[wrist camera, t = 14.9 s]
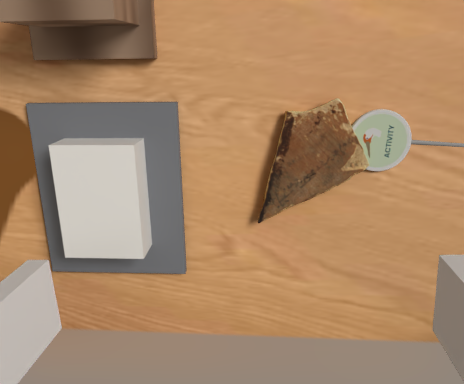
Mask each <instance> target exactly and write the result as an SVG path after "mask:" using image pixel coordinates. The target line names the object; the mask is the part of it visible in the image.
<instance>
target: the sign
mask: <svg viewBox="0 0 464 384" xmlns="http://www.w3.org/2000/svg"><path fill="white" fill-rule="evenodd" d="M352 128H353V130H354V132H355V134H356V135H357V137H358V139H359V141H360V144H361V145H362V147H363V149H364V153H365V155H366V158H367V159H368V162H369V164H370V165H369V166H368V167H367V168H366V169H367V170H370V171H383V170H387V169H390V168H392V167H394V166H396V165H397V164H398V163H400V162H401V161H402V160H403V159H404V157H405V156H406V154H407V153H408V151H409V148H410V145H411V144H418V145H436V146H454V147H464V144H461V143H448V142H434V141H420V140H411V130H410V127H409V125H408V123H407V122H406V120H405V119H404V118H403V117H402V116H401V115H399V114H398V113H396V112H393V111H390V110H386V109H377V110H372V111H369V112H367V113H365V114H363V115H362V116H360V117H359V118H358V119H357V120H356V121H355V122H354V123H353V125H352Z"/></svg>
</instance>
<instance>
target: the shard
mask: <svg viewBox="0 0 464 384" xmlns="http://www.w3.org/2000/svg"><path fill="white" fill-rule="evenodd" d="M369 165H370V164H369V162H368V159H367V158H366V155H365V153H364V149H363V147H362V145H361V144H360V141H359V139H358V137H357V135H356V134H355V132H354V130H353V128H352V126H351V124H350V122H349V120H348V117H347V114H346V111H345V108H344V105H343V103H342V102H341V101H340V100H339V99H335V100H332V101H330V102H328V103H327V104H325V105H322V106H320V107H317V108H315V109H312V110H310V111H304V112H295V111H286V112H285V119H284V123H283V128H282V131H281V134H280V138H279V142H278V145H277V151H276V154H275V157H274V161H273V165H272V167H271V172H270V175H269V178H268V182H267V187H266V190H265V195H264V203H263V207H262V209H261V211H260V214H259V218H258V223H260V222H262V221H264V220H266V219H268V218H270V217H272V216H274V215H277V214H278V213H280V212H281V211H283V210H284V209H287V208H289V207H291V206H293V205H296V204H298V203H300V202H304V201H307V200H309V199H311V198H313V197H314V196H316V195H318V194H321V193H324V192H326V191H328V190H330V189H331V188H332V187H335V186H338V185H340V184H341V183H343V182H345V181H347V180H349V179H350V178H351V177H352V176H353V175H355V174H357V173H359V172H362V171H364V170H365V169H366V168H367V167H368V166H369Z"/></svg>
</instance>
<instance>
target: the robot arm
mask: <svg viewBox="0 0 464 384" xmlns="http://www.w3.org/2000/svg"><path fill="white" fill-rule="evenodd" d="M61 328H62V326H61V321H60V316H59V311H58V306H57V301H56V296H55V290H54V285H53V280H52V275H51V270H50V265H49V260H27V261H26V262H25V263H24V264H22V265H21V266H20V267H19V268H17V269H16V270H15V271H14V272H13V273H11V274H10V275H9V276H8V277H6V278H5V279H4V280H3V281H1V282H0V384H18V383H19V381H20V380H21V379H22V378H23V376H24V375H25V374H26V373H27V371H28V370H29V369H30V367H31V366H32V365H33V364H34V362H35V361H36V360H37V359H38V357H39V356H40V355H41V354H42V352H43V351H44V350H45V349H46V347H47V346H48V345H49V344H50V342H51V341H52V340H53V339H54V337H55V336H56V334H57V333H58V332H59V331H60V330H61ZM433 331H434V333H435V335H436V336H437V338H438V340H439V341H440V343H441V345H442V346H443V348H444V349H445V351H446V353H447V354H448V356H449V358H450V359H451V361H452V363H453V364H454V366H455V368H456V369H457V371H458V373H459V374H460V376H461V377H462V379H463V381H464V255H439V264H438V275H437V286H436V297H435V308H434V320H433Z"/></svg>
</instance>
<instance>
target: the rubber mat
mask: <svg viewBox="0 0 464 384" xmlns="http://www.w3.org/2000/svg"><path fill="white" fill-rule="evenodd" d="M26 108H27V114H28V120H29V126H30V133H31V139H32V144H33V151H34V157H35V164H36V170H37V176H38V183H39V189H40V195H41V201H42V207H43V214H44V220H45V226H46V232H47V239H48V245H49V251H50V257H51V264H52V270H53V271H68V272H120V273H172V274H186V252H185V233H184V214H183V195H182V176H181V157H180V138H179V119H178V102H94V103H27V104H26ZM64 138H144V147H145V160H146V172H147V185H148V198H149V211H150V223H151V236H152V245H151V247H150V249H149V251H148V252H147V254H146V256H145V258H144V259H116V258H65V253H64V246H63V239H62V233H61V226H60V219H59V213H58V206H57V199H56V192H55V186H54V179H53V172H52V165H51V159H50V152H49V145H50V144H53V143H55V142H57V141H60V140H62V139H64Z"/></svg>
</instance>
